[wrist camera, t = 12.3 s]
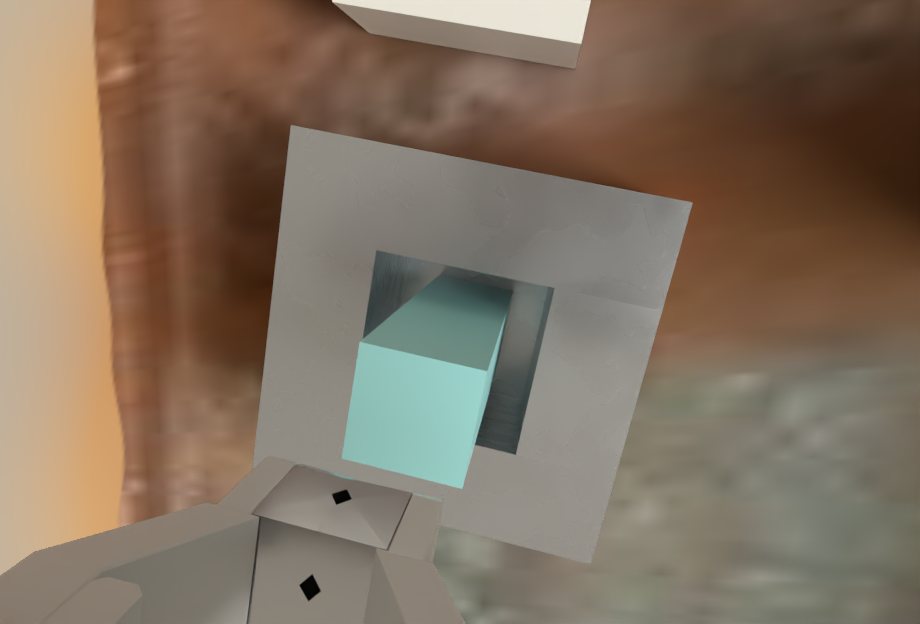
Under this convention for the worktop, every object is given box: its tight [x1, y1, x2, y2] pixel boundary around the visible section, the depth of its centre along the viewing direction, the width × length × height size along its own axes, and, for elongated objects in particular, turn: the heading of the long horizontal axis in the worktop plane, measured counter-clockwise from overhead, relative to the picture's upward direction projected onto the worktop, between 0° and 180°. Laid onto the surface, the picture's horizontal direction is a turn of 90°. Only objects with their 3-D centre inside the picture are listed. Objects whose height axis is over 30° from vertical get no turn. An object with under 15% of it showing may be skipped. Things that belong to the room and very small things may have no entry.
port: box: [252, 125, 693, 564], centre depth 21 cm, size 12×12×6 cm
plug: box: [342, 275, 513, 489], centre depth 18 cm, size 3×3×10 cm
